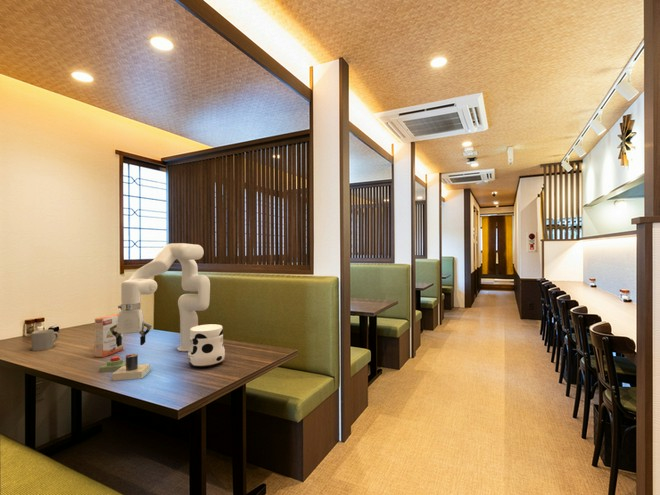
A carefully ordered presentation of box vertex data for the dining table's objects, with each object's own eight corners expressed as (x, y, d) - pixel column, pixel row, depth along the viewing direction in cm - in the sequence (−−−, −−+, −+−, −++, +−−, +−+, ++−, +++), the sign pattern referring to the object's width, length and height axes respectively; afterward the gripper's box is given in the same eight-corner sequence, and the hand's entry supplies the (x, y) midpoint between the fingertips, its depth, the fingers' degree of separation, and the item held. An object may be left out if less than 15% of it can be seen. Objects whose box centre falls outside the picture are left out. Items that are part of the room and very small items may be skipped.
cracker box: (103, 357, 180) (103, 318, 180) (94, 357, 181) (93, 318, 182) (124, 350, 194) (124, 313, 194) (115, 349, 195) (115, 313, 195)
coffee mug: (35, 351, 193) (35, 334, 194) (28, 349, 199) (28, 332, 199) (63, 345, 205) (63, 329, 205) (56, 343, 210) (56, 327, 210)
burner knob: (139, 366, 156) (139, 352, 157) (135, 370, 152) (135, 356, 152) (128, 367, 156) (128, 353, 156) (123, 370, 151) (123, 356, 151)
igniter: (129, 364, 168) (129, 356, 168) (122, 370, 160) (122, 362, 160) (107, 366, 167) (107, 358, 167) (99, 372, 159) (99, 363, 159)
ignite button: (120, 359, 166) (120, 355, 166) (117, 361, 162) (117, 358, 162) (112, 359, 165) (112, 356, 165) (109, 362, 161) (109, 358, 161)
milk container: (231, 359, 174) (231, 324, 174) (212, 371, 157) (212, 332, 158) (201, 357, 178) (201, 323, 178) (180, 368, 161) (179, 331, 162)
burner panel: (150, 370, 160) (149, 363, 160) (142, 378, 150) (141, 371, 150) (122, 372, 158) (122, 365, 158) (112, 380, 148) (112, 373, 148)
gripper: (106, 309, 149) (106, 348, 148) (148, 307, 152) (148, 346, 151) (114, 306, 156) (114, 344, 156) (154, 305, 159) (154, 342, 159)
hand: (130, 345), depth 154 cm, fingers open, 9 cm apart
